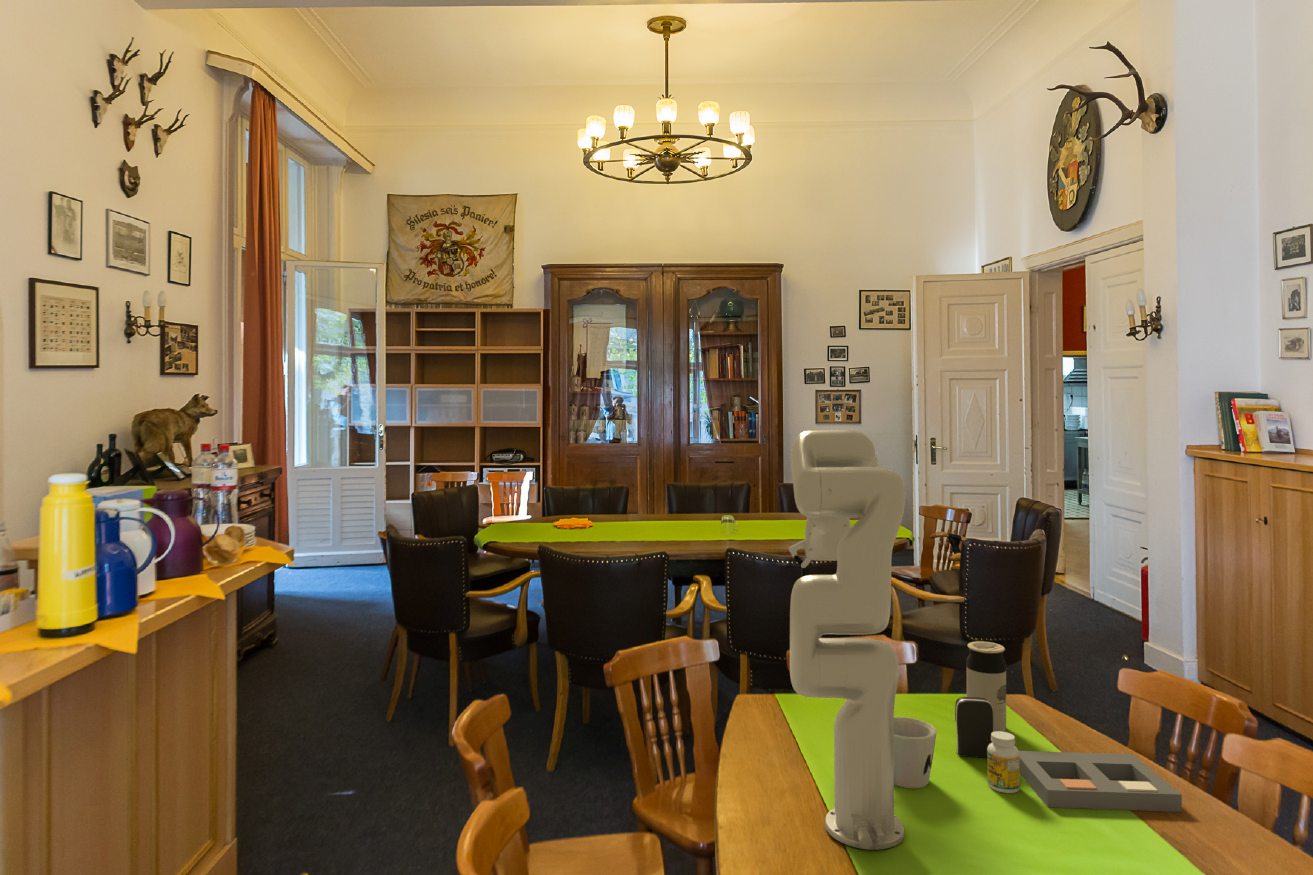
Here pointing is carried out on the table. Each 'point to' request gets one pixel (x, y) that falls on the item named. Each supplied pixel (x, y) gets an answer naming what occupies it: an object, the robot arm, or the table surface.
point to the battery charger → (973, 726)
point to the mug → (913, 752)
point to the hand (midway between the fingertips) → (828, 584)
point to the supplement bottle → (1003, 763)
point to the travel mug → (988, 678)
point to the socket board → (1097, 781)
